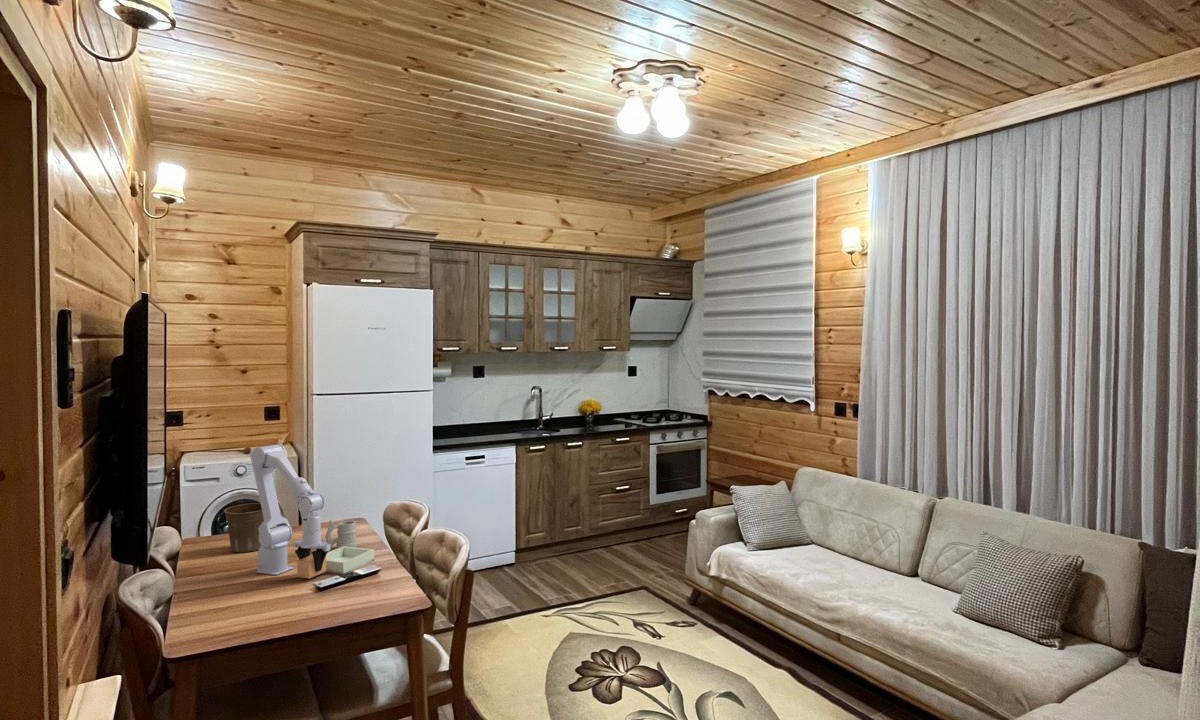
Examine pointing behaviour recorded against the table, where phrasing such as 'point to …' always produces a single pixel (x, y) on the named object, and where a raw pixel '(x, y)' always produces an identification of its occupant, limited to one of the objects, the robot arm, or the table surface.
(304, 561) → the box
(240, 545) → the plant pot
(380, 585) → the table surface
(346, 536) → the mug
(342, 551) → the big crate
